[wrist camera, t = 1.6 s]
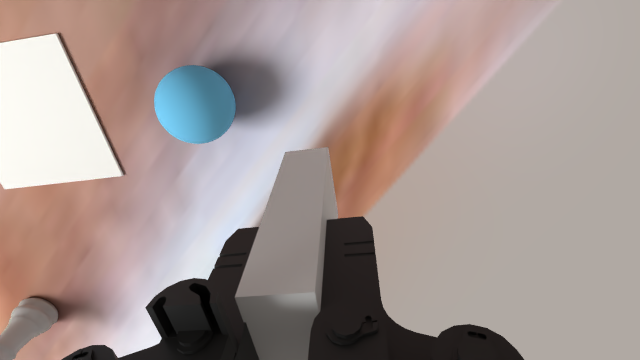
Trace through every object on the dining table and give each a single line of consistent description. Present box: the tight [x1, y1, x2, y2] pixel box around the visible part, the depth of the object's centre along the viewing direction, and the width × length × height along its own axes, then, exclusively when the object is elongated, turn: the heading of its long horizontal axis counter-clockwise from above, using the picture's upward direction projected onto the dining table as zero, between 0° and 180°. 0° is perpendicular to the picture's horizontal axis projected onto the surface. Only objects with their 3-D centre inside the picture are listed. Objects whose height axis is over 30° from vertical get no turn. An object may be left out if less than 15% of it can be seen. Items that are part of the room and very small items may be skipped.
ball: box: [154, 65, 236, 144], centre depth 25 cm, size 6×6×6 cm
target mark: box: [0, 33, 124, 189], centre depth 30 cm, size 12×12×1 cm
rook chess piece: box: [0, 297, 58, 360], centre depth 38 cm, size 4×4×8 cm
